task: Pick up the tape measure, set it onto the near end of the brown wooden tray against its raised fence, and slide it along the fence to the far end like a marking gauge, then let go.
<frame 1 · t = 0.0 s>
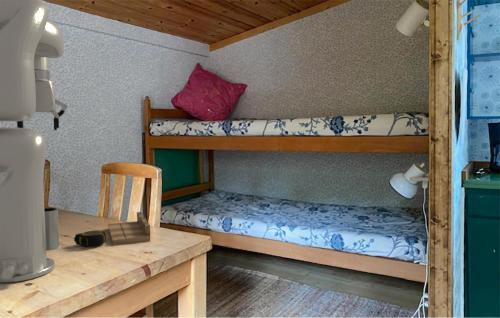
hand: (38, 130, 121), 31 cm above the table, fingers open, 9 cm apart
planter: (49, 248, 99), on the table
brown wooden tray: (128, 234, 112), on the table
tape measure: (90, 246, 101), on the table
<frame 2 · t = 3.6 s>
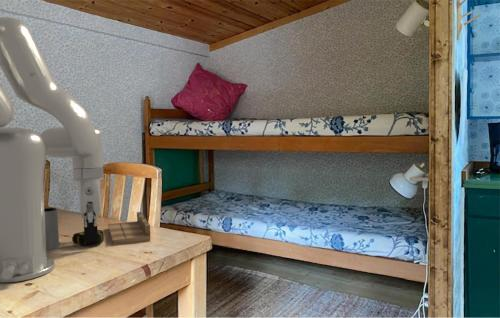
hand: (90, 236, 101), 2 cm above the table, fingers open, 9 cm apart
nothing on the table moved.
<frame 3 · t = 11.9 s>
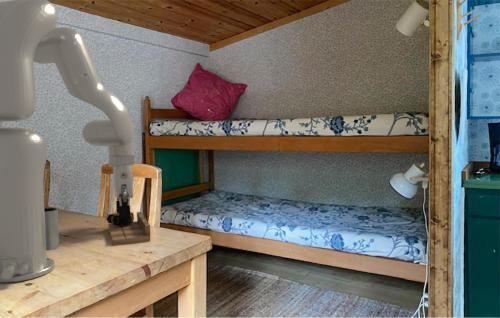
hand: (123, 215, 117), 4 cm above the table, fingers open, 9 cm apart
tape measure: (120, 225, 117), point 1 cm above the table, touching brown wooden tray
everything else where it was.
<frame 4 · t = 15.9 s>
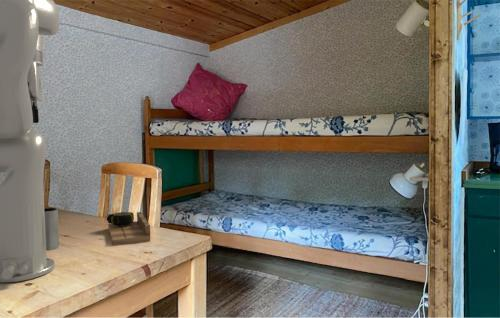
hand: (29, 122, 101), 33 cm above the table, fingers open, 9 cm apart
nothing on the table moved.
at the end: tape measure inside the target area (1.2 cm from its centre), point 1.4 cm above the table; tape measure moved 15.8 cm from its start; the gripper is holding nothing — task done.
